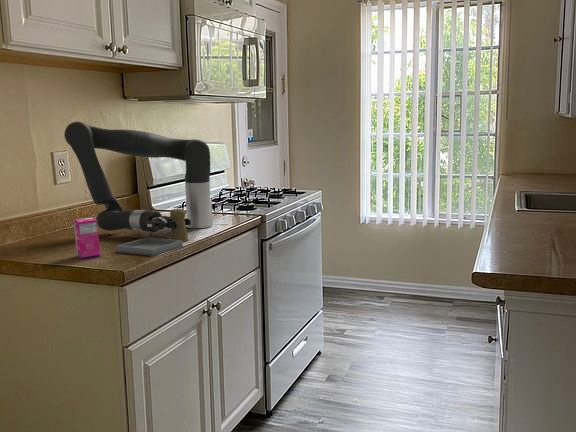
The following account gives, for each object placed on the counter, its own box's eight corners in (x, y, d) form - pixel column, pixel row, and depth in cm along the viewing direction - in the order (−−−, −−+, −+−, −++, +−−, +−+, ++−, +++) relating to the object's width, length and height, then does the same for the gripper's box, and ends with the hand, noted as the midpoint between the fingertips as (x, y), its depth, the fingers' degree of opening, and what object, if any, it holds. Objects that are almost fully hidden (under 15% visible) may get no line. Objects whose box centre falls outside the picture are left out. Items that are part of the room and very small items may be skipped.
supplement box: (76, 256, 182) (73, 219, 181) (96, 253, 185) (93, 217, 184) (80, 259, 177) (77, 221, 176) (100, 256, 181) (98, 219, 179)
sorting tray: (148, 243, 199) (147, 237, 199) (182, 246, 192) (182, 240, 192) (116, 252, 187) (116, 245, 186) (152, 256, 180) (152, 249, 179)
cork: (180, 238, 207) (178, 207, 205) (191, 240, 203) (190, 208, 201) (166, 241, 202) (164, 209, 200) (178, 243, 198) (176, 210, 196)
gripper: (130, 213, 201) (169, 215, 193) (158, 207, 214) (196, 209, 206) (132, 235, 202) (170, 238, 195) (159, 227, 215) (197, 231, 207)
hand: (183, 223), depth 200 cm, fingers open, 6 cm apart
